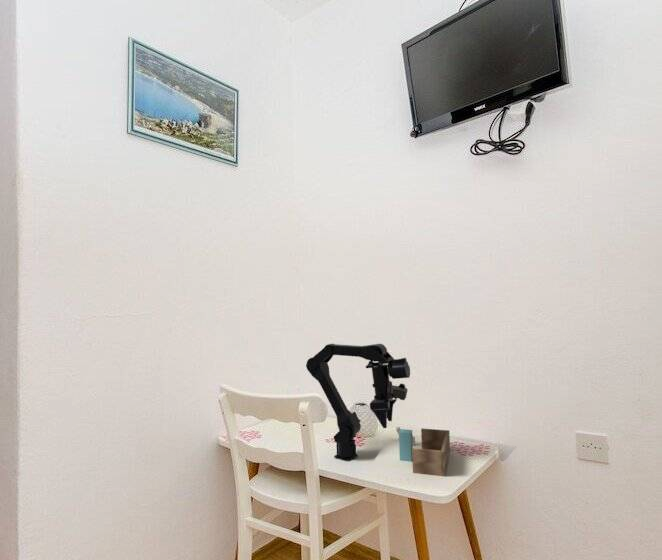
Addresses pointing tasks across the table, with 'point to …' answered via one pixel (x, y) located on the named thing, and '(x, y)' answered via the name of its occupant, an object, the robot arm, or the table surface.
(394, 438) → the table surface
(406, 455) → the pillar block
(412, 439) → the lighter
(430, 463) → the open box
